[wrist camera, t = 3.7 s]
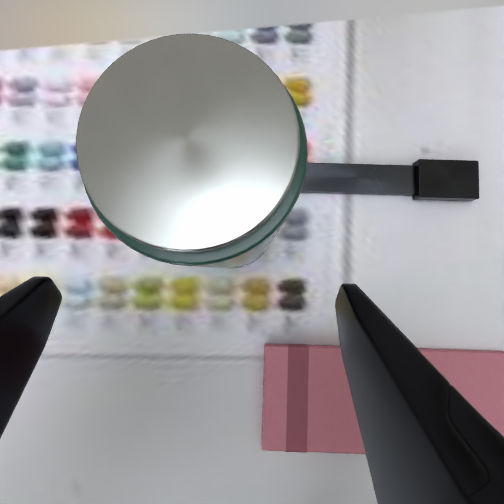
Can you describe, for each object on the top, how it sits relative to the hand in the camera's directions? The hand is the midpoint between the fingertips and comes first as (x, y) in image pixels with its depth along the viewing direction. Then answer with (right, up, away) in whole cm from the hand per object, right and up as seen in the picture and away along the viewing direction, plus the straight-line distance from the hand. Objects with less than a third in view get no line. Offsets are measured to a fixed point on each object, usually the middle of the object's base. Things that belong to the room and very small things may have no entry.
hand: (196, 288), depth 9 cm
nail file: (+11, +6, +11) cm, 17 cm away
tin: (0, +3, +11) cm, 11 cm away
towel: (+10, -9, +10) cm, 17 cm away
